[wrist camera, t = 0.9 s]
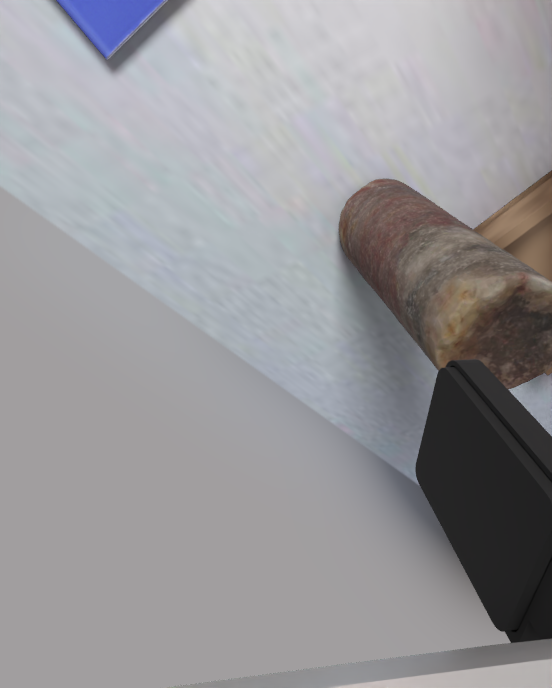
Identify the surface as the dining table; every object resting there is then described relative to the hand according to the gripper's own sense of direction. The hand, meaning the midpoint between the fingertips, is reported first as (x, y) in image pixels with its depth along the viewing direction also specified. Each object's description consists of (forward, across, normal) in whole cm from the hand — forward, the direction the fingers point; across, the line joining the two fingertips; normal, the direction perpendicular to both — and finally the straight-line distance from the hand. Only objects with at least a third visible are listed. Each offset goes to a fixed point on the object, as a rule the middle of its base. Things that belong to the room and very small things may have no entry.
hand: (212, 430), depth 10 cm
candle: (+32, -15, +6) cm, 36 cm away
